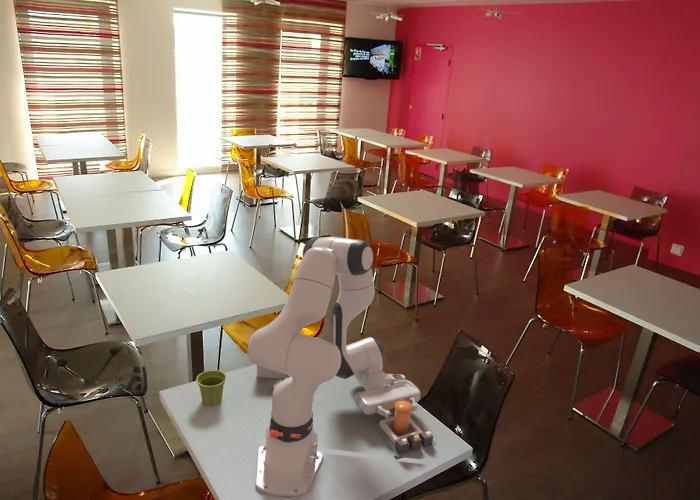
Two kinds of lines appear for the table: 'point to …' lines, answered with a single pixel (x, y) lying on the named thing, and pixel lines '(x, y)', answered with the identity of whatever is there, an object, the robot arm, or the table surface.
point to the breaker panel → (397, 443)
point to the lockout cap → (402, 417)
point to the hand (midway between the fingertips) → (402, 412)
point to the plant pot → (211, 386)
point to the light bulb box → (269, 373)
